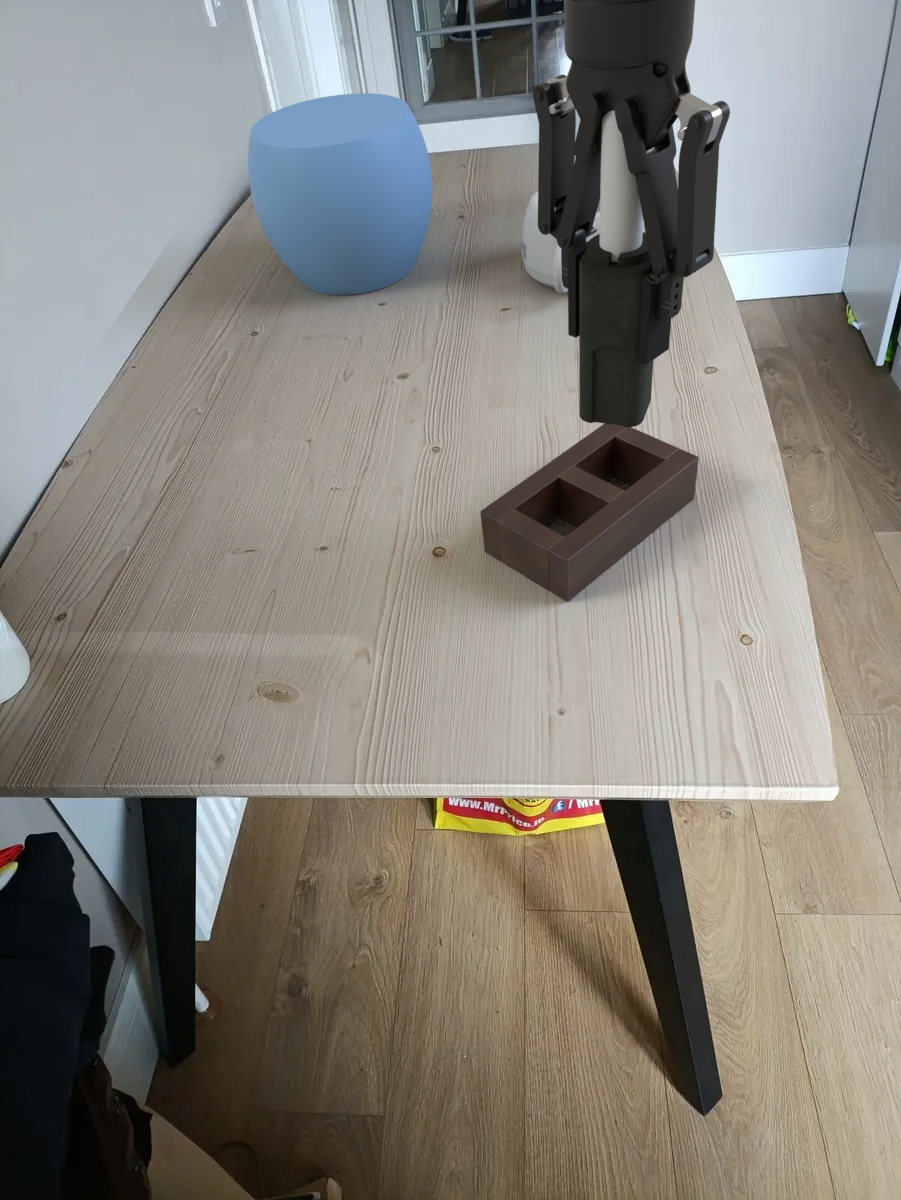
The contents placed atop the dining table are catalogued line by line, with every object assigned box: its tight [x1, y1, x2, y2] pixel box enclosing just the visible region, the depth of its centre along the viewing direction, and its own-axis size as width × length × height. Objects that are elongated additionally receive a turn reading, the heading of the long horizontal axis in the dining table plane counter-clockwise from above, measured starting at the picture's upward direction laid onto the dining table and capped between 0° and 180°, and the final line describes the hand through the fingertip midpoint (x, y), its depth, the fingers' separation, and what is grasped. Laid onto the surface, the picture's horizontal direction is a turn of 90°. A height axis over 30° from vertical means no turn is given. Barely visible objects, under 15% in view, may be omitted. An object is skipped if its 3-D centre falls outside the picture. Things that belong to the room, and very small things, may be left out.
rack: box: [480, 423, 700, 603], centre depth 82 cm, size 10×19×5 cm, turn 134°
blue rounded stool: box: [247, 92, 433, 296], centre depth 123 cm, size 25×25×20 cm
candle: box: [578, 111, 654, 428], centre depth 62 cm, size 5×5×25 cm
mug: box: [521, 190, 646, 295], centre depth 117 cm, size 21×17×10 cm
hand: (617, 341), depth 67 cm, fingers closed on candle, 6 cm apart
